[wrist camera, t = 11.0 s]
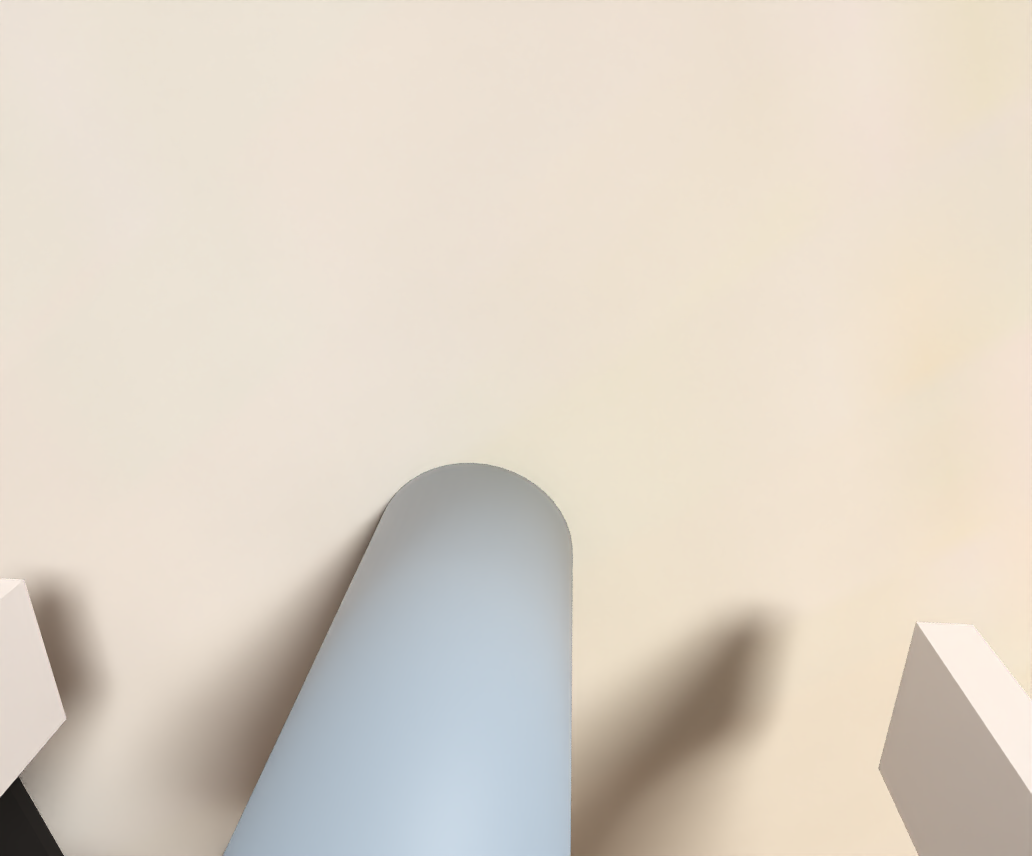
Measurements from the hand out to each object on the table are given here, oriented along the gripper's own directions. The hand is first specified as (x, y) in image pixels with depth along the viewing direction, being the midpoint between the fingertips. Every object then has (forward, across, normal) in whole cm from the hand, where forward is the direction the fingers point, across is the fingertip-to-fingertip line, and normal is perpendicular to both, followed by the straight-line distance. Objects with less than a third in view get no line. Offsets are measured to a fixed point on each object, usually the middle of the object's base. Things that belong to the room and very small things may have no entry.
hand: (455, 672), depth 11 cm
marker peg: (+3, 0, 0) cm, 3 cm away
